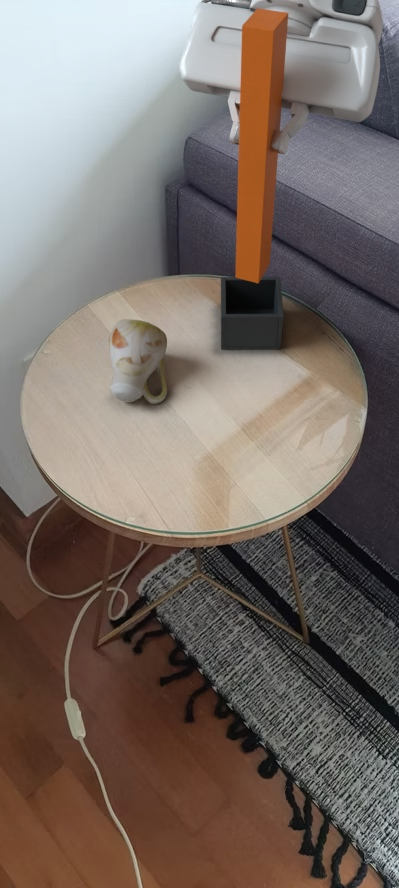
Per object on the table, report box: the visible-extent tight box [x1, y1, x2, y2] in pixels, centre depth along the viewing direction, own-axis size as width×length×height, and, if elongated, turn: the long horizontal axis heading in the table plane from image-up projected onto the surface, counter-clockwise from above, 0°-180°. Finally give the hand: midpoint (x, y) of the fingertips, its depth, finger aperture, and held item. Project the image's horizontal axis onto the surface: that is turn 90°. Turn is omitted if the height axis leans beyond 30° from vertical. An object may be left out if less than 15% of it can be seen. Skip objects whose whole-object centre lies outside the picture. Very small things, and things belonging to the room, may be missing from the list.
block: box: [234, 8, 288, 283], centre depth 73 cm, size 3×4×28 cm
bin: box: [220, 276, 285, 351], centre depth 89 cm, size 8×8×6 cm
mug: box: [108, 318, 168, 405], centre depth 85 cm, size 8×10×10 cm
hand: (257, 147), depth 71 cm, fingers closed on block, 3 cm apart
